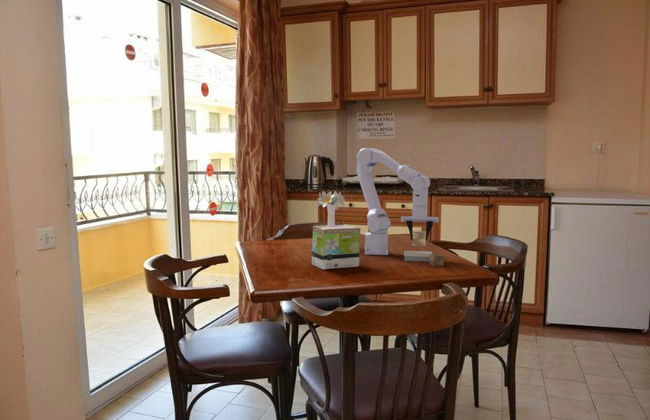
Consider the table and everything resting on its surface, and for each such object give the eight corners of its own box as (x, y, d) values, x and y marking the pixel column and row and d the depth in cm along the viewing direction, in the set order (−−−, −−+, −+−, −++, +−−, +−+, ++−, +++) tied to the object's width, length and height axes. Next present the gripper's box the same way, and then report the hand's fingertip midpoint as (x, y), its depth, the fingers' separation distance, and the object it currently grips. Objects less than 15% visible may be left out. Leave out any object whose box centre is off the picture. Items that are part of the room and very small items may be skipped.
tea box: (323, 270, 178) (324, 229, 177) (311, 265, 187) (311, 225, 185) (360, 266, 185) (360, 226, 184) (346, 261, 194) (347, 223, 192)
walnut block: (432, 266, 187) (433, 255, 187) (429, 264, 191) (429, 253, 190) (443, 266, 187) (443, 255, 187) (439, 264, 191) (439, 253, 191)
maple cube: (412, 245, 198) (412, 233, 197) (412, 243, 203) (412, 231, 202) (425, 246, 197) (426, 233, 196) (425, 244, 202) (425, 231, 201)
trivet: (404, 260, 196) (404, 255, 196) (404, 255, 207) (404, 250, 207) (433, 261, 195) (433, 256, 194) (431, 256, 206) (431, 251, 205)
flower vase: (342, 242, 236) (343, 189, 233) (346, 250, 218) (347, 192, 215) (314, 242, 235) (315, 189, 233) (316, 250, 217) (316, 192, 214)
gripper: (401, 206, 196) (400, 241, 197) (439, 207, 194) (438, 242, 195) (401, 204, 203) (400, 238, 204) (438, 205, 201) (436, 239, 202)
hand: (418, 240), depth 200 cm, fingers closed on maple cube, 5 cm apart
